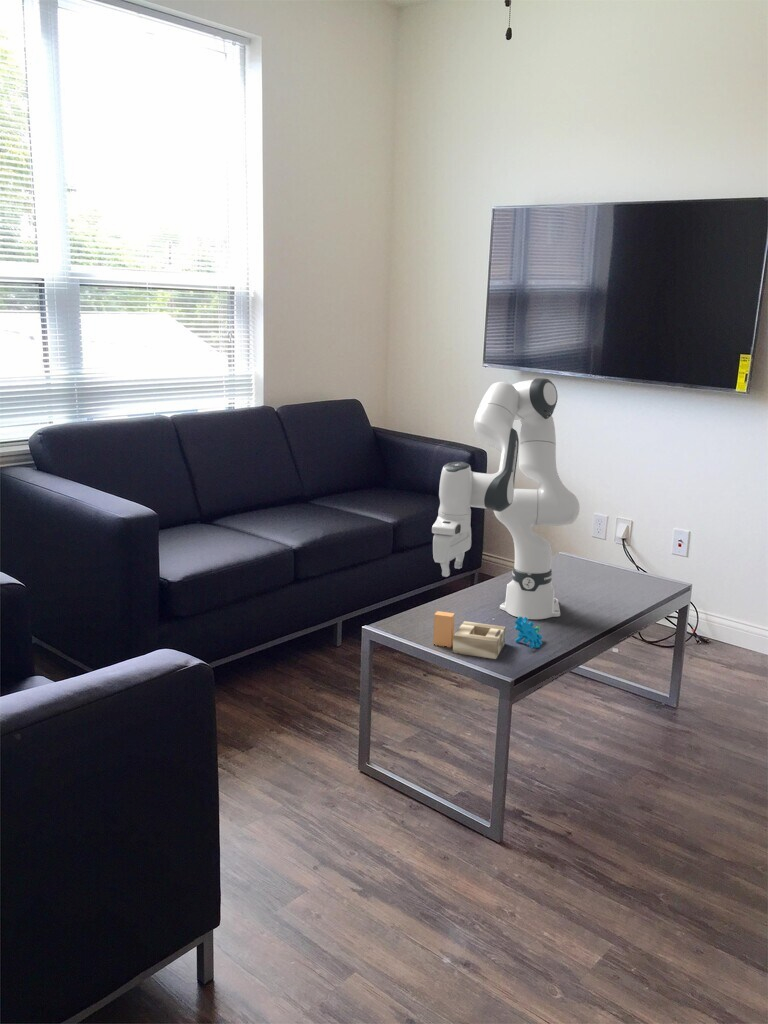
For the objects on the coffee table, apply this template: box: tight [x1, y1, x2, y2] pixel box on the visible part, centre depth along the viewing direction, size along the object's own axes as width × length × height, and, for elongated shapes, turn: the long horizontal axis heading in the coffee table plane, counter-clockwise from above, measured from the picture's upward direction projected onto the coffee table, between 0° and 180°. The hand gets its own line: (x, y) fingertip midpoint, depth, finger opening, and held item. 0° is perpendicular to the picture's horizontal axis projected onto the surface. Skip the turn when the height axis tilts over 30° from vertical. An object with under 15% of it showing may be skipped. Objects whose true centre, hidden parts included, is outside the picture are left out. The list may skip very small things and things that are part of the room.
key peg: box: [432, 610, 456, 648], centre depth 241 cm, size 3×5×9 cm, turn 71°
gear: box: [514, 617, 543, 649], centre depth 244 cm, size 11×6×10 cm
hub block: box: [452, 620, 507, 660], centre depth 239 cm, size 12×12×5 cm
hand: (452, 572), depth 237 cm, fingers open, 8 cm apart
